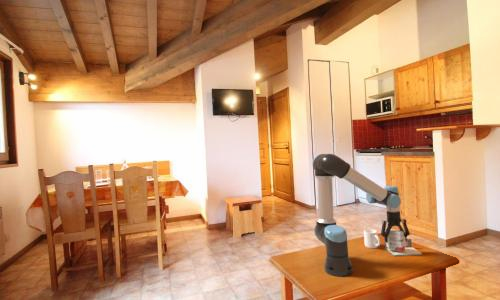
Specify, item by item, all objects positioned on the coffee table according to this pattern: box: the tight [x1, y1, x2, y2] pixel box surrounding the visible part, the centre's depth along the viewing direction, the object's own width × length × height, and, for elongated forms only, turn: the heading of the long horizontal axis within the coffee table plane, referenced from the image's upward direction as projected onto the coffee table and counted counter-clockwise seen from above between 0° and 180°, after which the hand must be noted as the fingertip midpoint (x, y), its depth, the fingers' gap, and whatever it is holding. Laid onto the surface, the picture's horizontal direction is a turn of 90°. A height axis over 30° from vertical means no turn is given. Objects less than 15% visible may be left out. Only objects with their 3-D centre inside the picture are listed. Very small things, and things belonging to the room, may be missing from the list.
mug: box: [363, 228, 381, 249], centre depth 174 cm, size 12×8×10 cm
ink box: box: [388, 228, 405, 252], centre depth 163 cm, size 8×5×12 cm, turn 40°
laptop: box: [384, 238, 423, 257], centre depth 163 cm, size 16×12×6 cm
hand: (396, 247), depth 163 cm, fingers closed on ink box, 9 cm apart
